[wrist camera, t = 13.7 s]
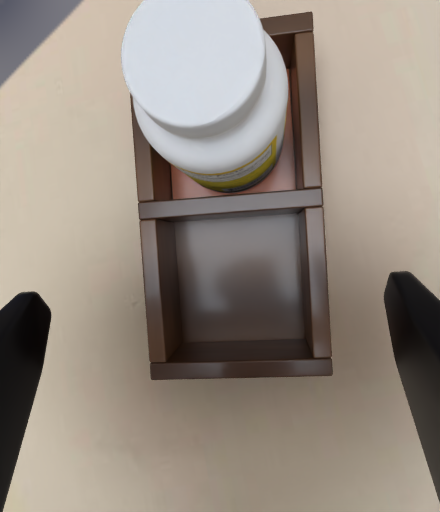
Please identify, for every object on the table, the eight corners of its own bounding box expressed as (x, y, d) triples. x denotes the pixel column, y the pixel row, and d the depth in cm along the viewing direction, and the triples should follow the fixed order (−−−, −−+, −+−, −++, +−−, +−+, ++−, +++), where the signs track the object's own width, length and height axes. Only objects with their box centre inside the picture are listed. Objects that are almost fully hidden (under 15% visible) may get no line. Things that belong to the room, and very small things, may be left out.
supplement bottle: (202, 73, 20) (141, -83, 10) (299, 111, 20) (331, -15, 10) (162, 171, 21) (67, 109, 11) (256, 211, 20) (246, 184, 10)
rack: (320, 349, 21) (333, 376, 17) (172, 354, 22) (150, 380, 18) (303, 56, 20) (312, 10, 16) (152, 75, 21) (125, 36, 17)
